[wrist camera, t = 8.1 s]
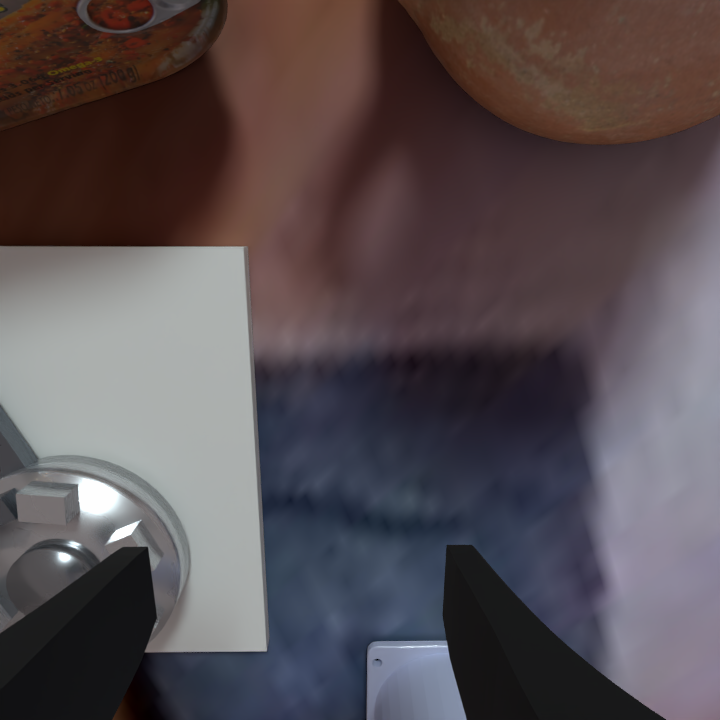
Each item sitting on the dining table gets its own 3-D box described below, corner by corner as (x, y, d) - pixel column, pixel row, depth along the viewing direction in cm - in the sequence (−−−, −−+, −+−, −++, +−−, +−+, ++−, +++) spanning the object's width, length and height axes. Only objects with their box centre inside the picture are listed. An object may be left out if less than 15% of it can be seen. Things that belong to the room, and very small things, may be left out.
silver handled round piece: (227, 593, 23) (202, 665, 19) (53, 664, 24) (-3, 746, 20) (28, 281, 19) (-53, 294, 15) (-170, 381, 20) (-293, 416, 16)
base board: (269, 638, 25) (266, 653, 24) (-88, 640, 25) (-104, 655, 24) (247, 246, 20) (243, 247, 19) (-202, 245, 19) (-228, 245, 19)
